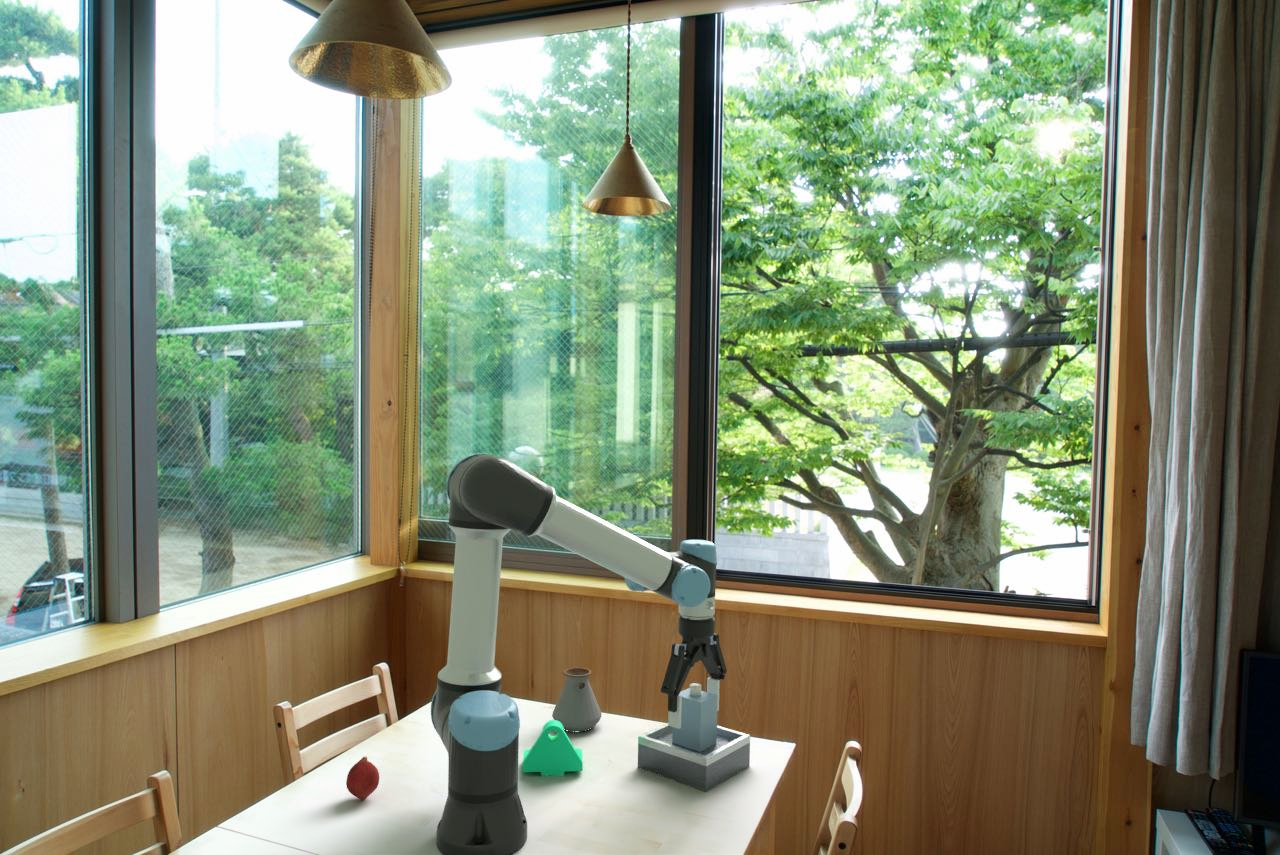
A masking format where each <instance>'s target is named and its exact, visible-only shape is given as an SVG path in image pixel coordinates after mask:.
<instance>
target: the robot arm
mask: <svg viewBox="0 0 1280 855" xmlns="http://www.w3.org/2000/svg"><path fill="white" fill-rule="evenodd" d="M446 495H447V498H448V500H449V511H448V512H449V514H448V516H449V517H448V527H449V528H450V530H451V531H452V532H453V533H454V534H455V547H454V548H455V550H454V559H453V564H454V565H453V574H452V575H453V576H452V577H453V578H452V587H451V588H452V590H451V591H452V592H451V605H450V617H449V631H448V632H449V634H448V647H447V661H446V665H445V666H444V667H442V669H441V670H439V671H438V674H437V683H436V690H435V691H434V694H433V696H432V697H431V698H432V699H431V703H430V704H431V705H430V717H431V722H432V726H433V728H434V729H435V732H436V733H437V735H438V736H439V738H440V740H441V742H442V744H443V746H444V747H445V748H444V749H446V752H447V756H448V757H447V758H448V771H447V772H448V773H447V776H448V777H447V778H448V779H447V781H448V782H447V784H448V785H447V796H446V801H445V805H444V809H443V812H442V815H441V818H440V820H439V822H438V824H437V827H436V847H437V849H438V851H439V852H440V853H442V854H443V855H512V854H514V853H515V852H517V851H518V850H520V848H523V846H524V845H525V843H526V842H527V839H528V821H527V818H526V816H525V811H524V808H523V805H522V802H521V799H520V795H519V792H518V790H519V789H518V788H519V787H518V783H519V747H520V746H519V743H520V742H519V741H520V740H519V739H520V734H519V733H520V728H521V727H520V726H521V722H520V721H521V719H520V716H519V707H518V704H517V703H516V701H515V700H514V699H513V698H512V697H510V696H509V695H508V694H505V693H501V692H502V691H501V689H502V675H503V674H502V672H501V671H500V670H499V669H498V668H497V667H496V666H495V658H496V657H495V656H496V645H497V644H496V642H497V629H498V614H499V600H500V584H501V575H502V574H501V572H502V571H501V570H502V558H503V546H504V537H505V536H506V535H507V534H508V533H510V531H514V532H516V533H519V534H521V535H523V536H525V537H528V538H531V537H534V536H536V535H537V536H538V537H541V538H543V539H544V540H547V541H548V542H551V543H553V544H555V545H557V546H559V547H562V548H563V549H566V550H568V551H570V552H572V553H574V554H576V555H578V556H580V557H582V558H584V559H587V560H589V561H590V562H593V563H595V564H596V565H597V566H598V565H599V566H601V567H603V568H605V569H607V570H608V571H611V572H613V573H615V574H617V575H619V576H621V577H623V578H624V582H625V586H626V587H627V589H629V590H630V591H632V592H633V591H634V592H641V593H644V592H646V591H649V592H653V593H654V594H658V595H660V596H662V597H664V598H666V599H668V600H669V601H672V602H674V603H675V604H677V605H678V613H679V614H680V615H679V616H678V622H677V623H678V627H677V628H678V630H677V632H678V634H679V635H681V637H682V638H681V639H682V640H681V643H680V644H679V643H672V645H671V651H670V657H669V660H668V665H667V667H666V672H665V674H664V678H663V682H662V685H661V688H660V693H662V694H664V695H665V694H666V695H667V711H668V715H667V717H668V719H667V723H668V726H671V727H674V728H678V729H680V728H681V714H682V695H679V694H680V692H681V691H682V688H683V686H684V684H685V682H686V680H687V677H688V676H689V672H690V670H691V668H692V667H695V664H696V663H698V662H699V661H700V662H702V665H703V667H704V668H705V670H706V672H707V673H708V675H709V677H707V678H706V692H708V693H712V694H716V695H718V699H717V712H719V711H720V690H721V688H720V687H721V681H724V680H725V678H726V673H727V671H728V669H727V666H726V663H725V659H724V656H723V652H722V649H721V645H720V635H719V634H718V633H715V627H716V625H715V624H716V618H715V617H714V615H715V614H716V585H717V584H716V582H717V565H718V562H717V559H718V558H717V547H716V545H715V543H713V542H712V541H709V540H707V539H705V540H704V539H686V540H682V541H681V542H680V546H679V549H678V550H676V551H664V550H663V549H661V548H659V547H657V546H655V545H653V544H651V543H649V542H647V541H645V540H643V539H641V538H640V537H638V536H636V535H634V534H632V533H631V532H630V533H629V532H628V531H626V530H624V529H622V528H620V527H618V526H617V525H614V524H612V523H610V522H609V521H606V520H605V519H603V518H601V517H599V516H597V515H595V514H593V513H591V512H589V511H587V510H585V509H583V508H581V507H579V506H577V505H576V504H573V503H572V502H570V501H568V500H566V499H564V498H562V497H559V496H558V495H557V494H556V490H555V488H554V487H553V486H551V485H549V484H547V483H545V482H543V481H542V480H540V479H539V478H537V477H535V476H534V475H532V474H531V473H529V472H527V471H526V470H525V469H523V468H522V467H521V466H519V465H518V464H516V463H514V462H513V461H511V460H509V459H508V458H503V457H500V456H495V455H492V454H489V453H488V454H486V453H476V454H472V455H469V456H465V457H464V458H461V460H459V461H458V462H457V463H456V464H455V465H454V466H453V467H452V468H451V470H450V471H449V473H448V476H447V480H446Z"/></svg>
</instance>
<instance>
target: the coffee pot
mask: <svg viewBox="0 0 1280 855" xmlns="http://www.w3.org/2000/svg"><path fill="white" fill-rule="evenodd" d="M562 674H563V676H564V678H565V680H566V681H565V683H564V686H563V688H562V690H561V692H560V695H559V698H558V699H557V701H556V704H555V706H554V709H553V711H552V718H553V719H552V720H557V721H559V722H561V723H562V725H563V727H564V729H565V730H568V731H574V732H573V733H576V732H575V731H585V730H588V729H590V728H592V727H593V728H594V727H595V726H596V725H597V724H598V723H599V722H600V721H601V718H602V710H601V709H600V706H599V704H598V701H597V698H596V695H595V694H594V691H593V688H592V686H591V683H590V681H589V679H590V676H591V675H592V670H591V669H588V668H585V667H570V668H568V669H565V670H563V672H562ZM593 728H592V729H593ZM568 731H567V732H568ZM585 732H586V731H585Z"/></svg>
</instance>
